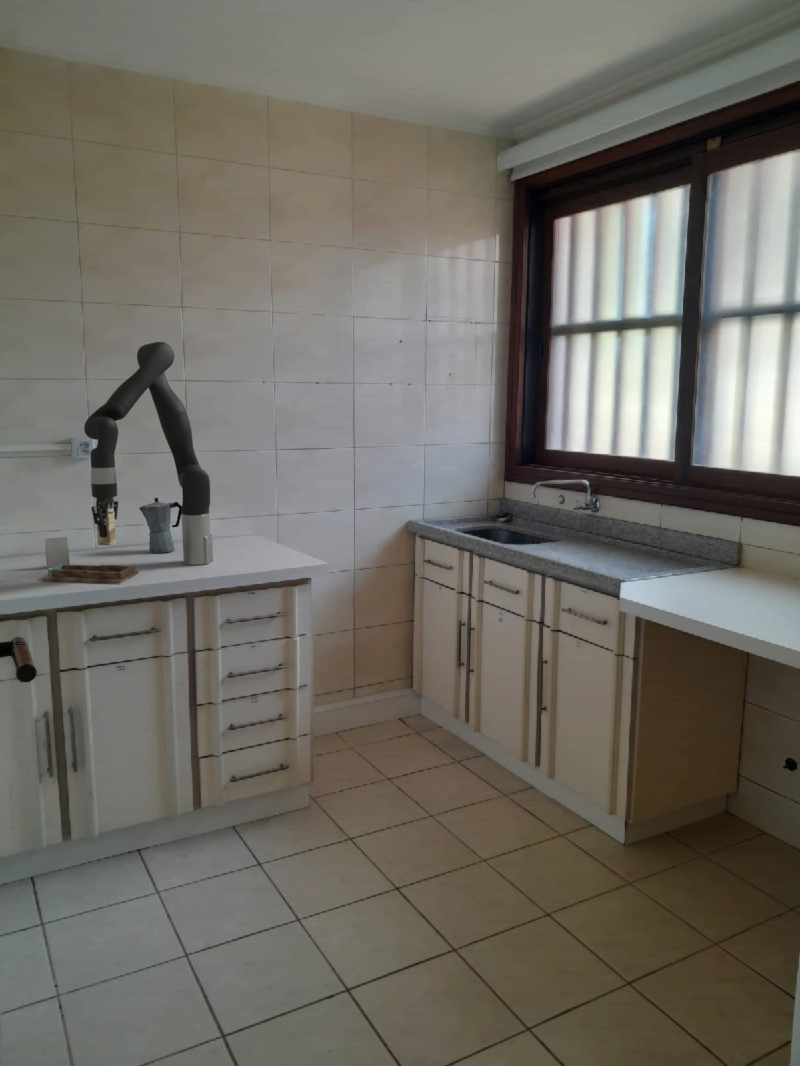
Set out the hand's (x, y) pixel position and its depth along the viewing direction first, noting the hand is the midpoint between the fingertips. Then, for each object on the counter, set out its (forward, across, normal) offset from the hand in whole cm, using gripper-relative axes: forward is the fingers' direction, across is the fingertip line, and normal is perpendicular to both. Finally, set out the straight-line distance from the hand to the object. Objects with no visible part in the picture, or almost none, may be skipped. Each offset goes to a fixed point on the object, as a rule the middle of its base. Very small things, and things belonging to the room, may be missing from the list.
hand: (106, 535), depth 253 cm
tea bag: (+14, +13, +24) cm, 31 cm away
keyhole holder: (+14, 0, +6) cm, 15 cm away
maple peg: (+3, 0, 0) cm, 3 cm away
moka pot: (+14, +42, -1) cm, 44 cm away
